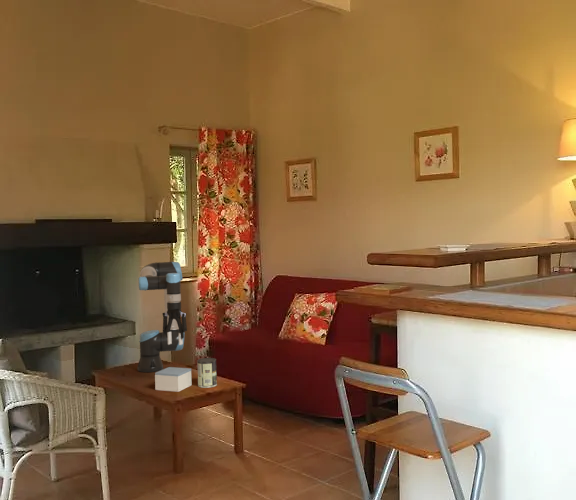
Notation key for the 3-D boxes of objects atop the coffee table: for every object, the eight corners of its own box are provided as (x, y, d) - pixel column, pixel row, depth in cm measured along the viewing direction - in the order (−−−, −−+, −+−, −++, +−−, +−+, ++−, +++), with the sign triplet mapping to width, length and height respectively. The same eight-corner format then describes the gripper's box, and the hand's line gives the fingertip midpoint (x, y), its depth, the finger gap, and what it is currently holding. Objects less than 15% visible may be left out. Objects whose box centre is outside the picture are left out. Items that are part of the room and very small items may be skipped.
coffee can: (211, 382, 359) (210, 356, 358) (220, 385, 351) (219, 359, 350) (194, 385, 353) (193, 359, 352) (203, 388, 345) (202, 362, 344)
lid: (169, 368, 358) (169, 367, 358) (191, 370, 353) (191, 368, 353) (155, 374, 345) (155, 372, 345) (178, 376, 340) (178, 374, 340)
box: (169, 383, 358) (168, 369, 358) (191, 385, 353) (191, 370, 353) (155, 389, 345) (154, 374, 345) (178, 391, 340) (177, 376, 340)
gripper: (154, 302, 350) (156, 344, 351) (186, 303, 343) (187, 346, 344) (162, 300, 357) (163, 342, 358) (193, 301, 350) (194, 343, 351)
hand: (175, 344), depth 351 cm, fingers open, 6 cm apart
